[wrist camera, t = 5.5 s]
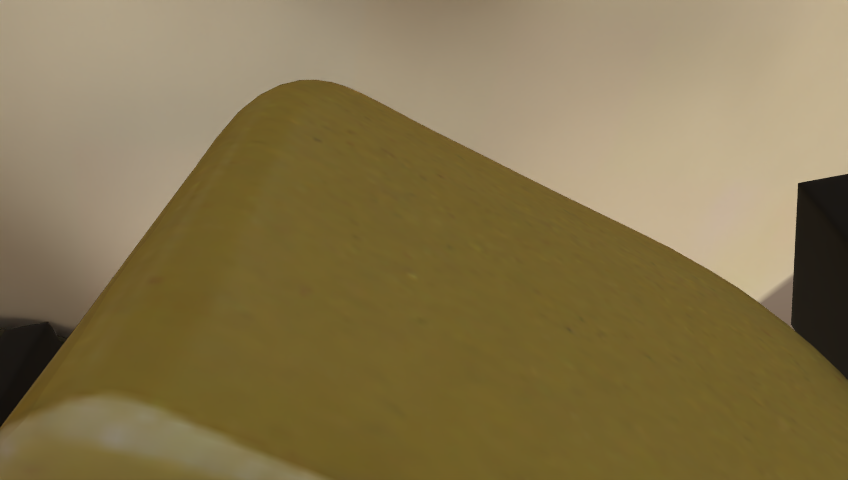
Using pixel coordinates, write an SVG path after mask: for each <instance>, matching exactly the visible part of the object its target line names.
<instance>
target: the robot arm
mask: <svg viewBox="0 0 848 480" xmlns="http://www.w3.org/2000/svg"><path fill="white" fill-rule="evenodd" d="M791 325H792V327H793V328H794V330H795V331H796V332H797V333H798V334H799V335H800V336H801V337H803V338H804V339H805V340H806V341H807V342H809V343H810V344H811V345H812V346H813V347H814V348H816V349H817V350H818V351H819V352H820V353H821V354H822V355H823V356H824V357H825V358H826V359H827V360H828V361H829V362H830V363H831V364H832V365H833V366H834V367H835V368H837V369H838V370H839V371H840V372H841V373H842V374H843V375H844V376H845V378H846V379H847V380H848V174H845V175H840V176H834V177H829V178H823V179H818V180H813V181H807V182H802V183H798V198H797V218H796V238H795V258H794V278H793V298H792V318H791ZM61 347H62V343H61V342H60V340H59V339H58V337H57V335H56V334H55V332H54V331H53V329H52V327H51V326H50V324H49V323H48V322H45V323H40V324H35V325H29V326H24V327H18V328H13V329H8V330H5V331H4V333H3V334H2V336H1V337H0V427H1V426H2V424H3V423H4V422H5V421H6V419H7V418H8V417H9V415H10V414H11V413H12V411H13V410H14V409H15V407H16V406H17V405H18V403H19V402H20V401H21V399H22V398H23V397H24V395H25V394H26V393H27V391H28V390H29V389H30V387H31V386H32V385H33V384H34V382H35V381H36V380H37V378H38V377H39V376H40V374H41V373H42V372H43V370H44V369H45V368H46V366H47V365H48V364H49V362H50V361H51V360H52V358H53V357H54V356H55V354H56V353H57V352H58V351H59V349H60V348H61Z"/></svg>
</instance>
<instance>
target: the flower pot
mask: <svg viewBox="0 0 848 480" xmlns="http://www.w3.org/2000/svg"><path fill="white" fill-rule="evenodd" d="M0 480H848V380H847V379H846V378H845V376H844V375H843V374H842V373H841V372H840V371H839V370H838V369H837V368H835V367H834V366H833V365H832V364H831V363H830V362H829V361H828V360H827V359H826V358H825V357H824V356H823V355H822V354H821V353H820V352H819V351H818V350H817V349H816V348H814V347H813V346H812V345H811V344H810V343H809V342H807V341H806V340H805V339H804V338H803V337H801V336H800V335H799V334H798V333H797V332H796V331H794V330H793V329H792V328H791V327H790V326H788V325H787V324H786V323H785V322H783V321H782V320H781V319H779V318H778V317H777V316H775V315H774V314H773V313H771V312H770V311H769V310H768V309H766V308H765V307H764V306H762V305H761V304H760V303H758V302H757V301H756V300H754V299H753V298H751V297H750V296H749V295H747V294H746V293H745V292H743V291H742V290H740V289H739V288H737V287H736V286H734V285H733V284H731V283H729V282H728V281H726V280H725V279H723V278H721V277H720V276H718V275H717V274H715V273H713V272H712V271H710V270H708V269H707V268H705V267H703V266H701V265H699V264H698V263H696V262H694V261H692V260H691V259H689V258H687V257H685V256H683V255H682V254H680V253H678V252H676V251H675V250H673V249H671V248H669V247H667V246H665V245H663V244H661V243H659V242H657V241H655V240H653V239H651V238H649V237H647V236H645V235H643V234H641V233H639V232H637V231H635V230H633V229H631V228H629V227H627V226H625V225H623V224H621V223H619V222H616V221H614V220H612V219H610V218H608V217H606V216H604V215H602V214H600V213H598V212H596V211H594V210H592V209H590V208H588V207H585V206H583V205H581V204H579V203H577V202H575V201H573V200H571V199H569V198H567V197H565V196H563V195H561V194H559V193H557V192H555V191H553V190H551V189H549V188H547V187H545V186H543V185H541V184H539V183H537V182H535V181H533V180H531V179H529V178H527V177H525V176H523V175H521V174H519V173H517V172H515V171H513V170H511V169H509V168H507V167H505V166H503V165H501V164H499V163H497V162H495V161H493V160H491V159H489V158H487V157H485V156H483V155H481V154H479V153H477V152H475V151H473V150H471V149H469V148H467V147H465V146H463V145H461V144H459V143H457V142H455V141H453V140H451V139H449V138H447V137H445V136H443V135H441V134H439V133H437V132H435V131H433V130H431V129H429V128H427V127H425V126H423V125H421V124H419V123H417V122H415V121H413V120H412V119H410V118H408V117H406V116H404V115H402V114H400V113H399V112H397V111H395V110H393V109H391V108H389V107H387V106H385V105H384V104H382V103H380V102H378V101H376V100H374V99H372V98H370V97H368V96H366V95H364V94H362V93H360V92H357V91H355V90H353V89H350V88H348V87H345V86H343V85H339V84H336V83H332V82H327V81H320V80H299V81H294V82H290V83H286V84H282V85H279V86H277V87H275V88H273V89H271V90H269V91H267V92H265V93H263V94H261V95H259V96H258V97H257V98H255V99H254V100H253V101H252V102H250V103H249V104H248V105H246V106H245V107H244V108H243V109H242V110H241V111H239V112H238V113H237V115H236V116H235V117H234V118H233V119H232V120H231V122H230V123H229V124H228V125H227V126H226V127H225V129H224V130H223V131H222V132H221V133H220V134H219V136H218V137H217V138H216V139H215V141H214V142H213V143H212V145H211V146H210V148H209V149H208V150H207V152H206V153H205V154H204V156H203V157H202V159H201V160H200V161H199V163H198V164H197V166H196V167H195V168H194V170H193V171H192V172H191V174H190V175H189V176H188V178H187V179H186V180H185V182H184V183H183V184H182V186H181V187H180V188H179V190H178V191H177V192H176V194H175V195H174V196H173V198H172V199H171V200H170V202H169V203H168V204H167V206H166V207H165V208H164V210H163V211H162V212H161V214H160V215H159V216H158V218H157V219H156V220H155V222H154V223H153V224H152V226H151V227H150V228H149V230H148V231H147V232H146V234H145V235H144V236H143V238H142V239H141V241H140V242H139V243H138V245H137V246H136V247H135V249H134V250H133V251H132V253H131V254H130V255H129V257H128V258H127V259H126V261H125V262H124V263H123V265H122V266H121V267H120V269H119V270H118V272H117V273H116V274H115V276H114V277H113V278H112V280H111V281H110V282H109V284H108V285H107V286H106V288H105V289H104V290H103V292H102V293H101V294H100V296H99V297H98V298H97V300H96V301H95V303H94V304H93V305H92V307H91V308H90V309H89V311H88V312H87V313H86V315H85V316H84V317H83V319H82V320H81V321H80V323H79V324H78V325H77V327H76V328H75V329H74V331H73V332H72V333H71V335H70V336H69V337H68V339H67V340H66V341H65V343H64V344H63V345H62V347H61V348H60V349H59V351H58V352H57V353H56V354H55V356H54V357H53V358H52V360H51V361H50V362H49V364H48V365H47V366H46V368H45V369H44V370H43V372H42V373H41V374H40V376H39V377H38V378H37V380H36V381H35V382H34V384H33V385H32V386H31V387H30V389H29V390H28V391H27V393H26V394H25V395H24V397H23V398H22V399H21V401H20V402H19V403H18V405H17V406H16V407H15V409H14V410H13V411H12V413H11V414H10V415H9V417H8V418H7V419H6V421H5V422H4V423H3V424H2V426H1V427H0Z"/></svg>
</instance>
